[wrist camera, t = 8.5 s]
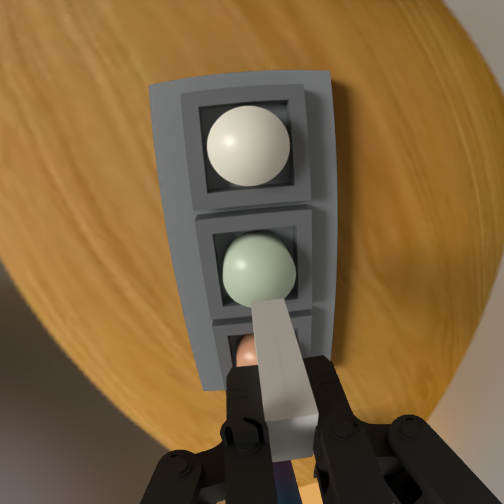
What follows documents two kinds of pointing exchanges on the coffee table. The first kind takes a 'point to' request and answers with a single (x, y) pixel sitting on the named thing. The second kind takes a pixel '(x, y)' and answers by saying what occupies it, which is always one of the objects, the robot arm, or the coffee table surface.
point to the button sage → (258, 268)
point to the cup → (286, 483)
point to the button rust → (246, 351)
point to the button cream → (248, 145)
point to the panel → (248, 206)
